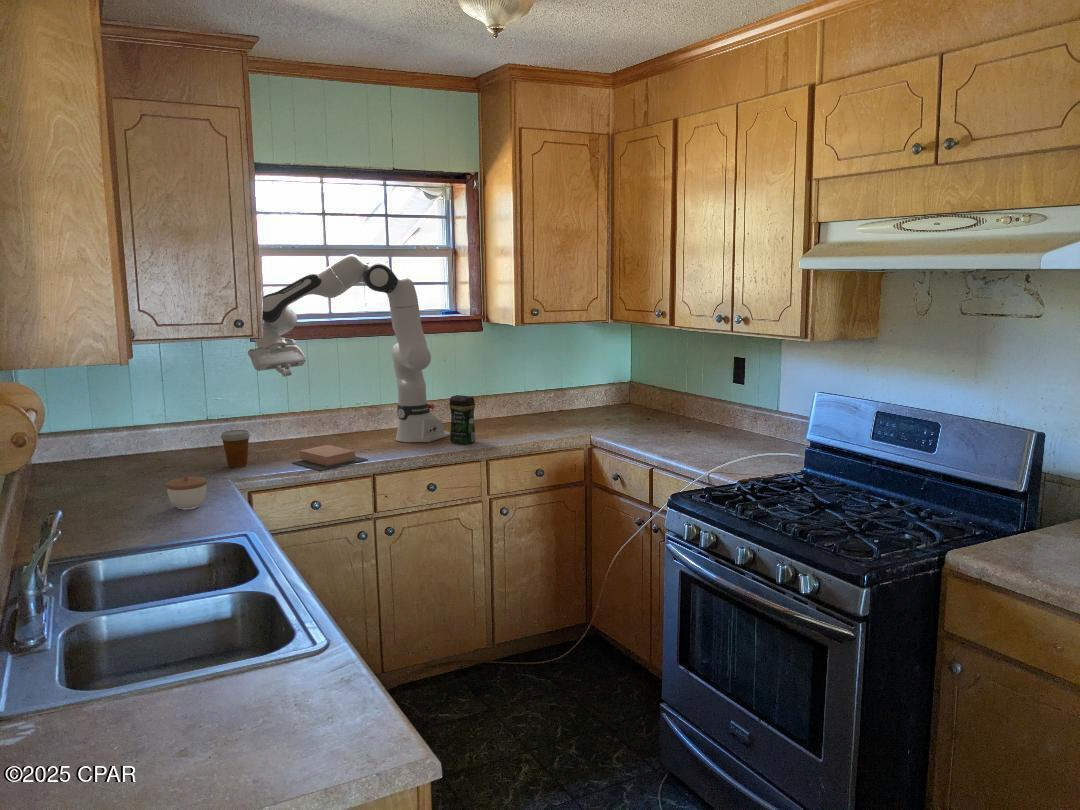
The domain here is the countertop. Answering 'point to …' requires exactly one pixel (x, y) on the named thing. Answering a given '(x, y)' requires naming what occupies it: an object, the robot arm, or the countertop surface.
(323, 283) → the robot arm
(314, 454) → the tile
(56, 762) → the countertop surface
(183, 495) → the lidded jar
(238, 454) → the disposable coffee cup
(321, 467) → the mat
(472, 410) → the coffee jar
